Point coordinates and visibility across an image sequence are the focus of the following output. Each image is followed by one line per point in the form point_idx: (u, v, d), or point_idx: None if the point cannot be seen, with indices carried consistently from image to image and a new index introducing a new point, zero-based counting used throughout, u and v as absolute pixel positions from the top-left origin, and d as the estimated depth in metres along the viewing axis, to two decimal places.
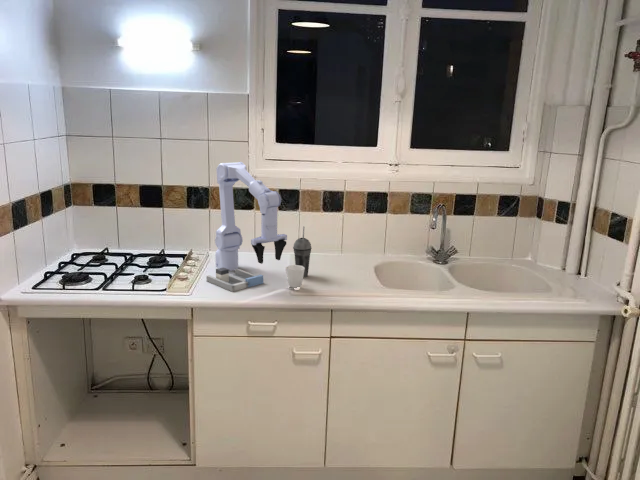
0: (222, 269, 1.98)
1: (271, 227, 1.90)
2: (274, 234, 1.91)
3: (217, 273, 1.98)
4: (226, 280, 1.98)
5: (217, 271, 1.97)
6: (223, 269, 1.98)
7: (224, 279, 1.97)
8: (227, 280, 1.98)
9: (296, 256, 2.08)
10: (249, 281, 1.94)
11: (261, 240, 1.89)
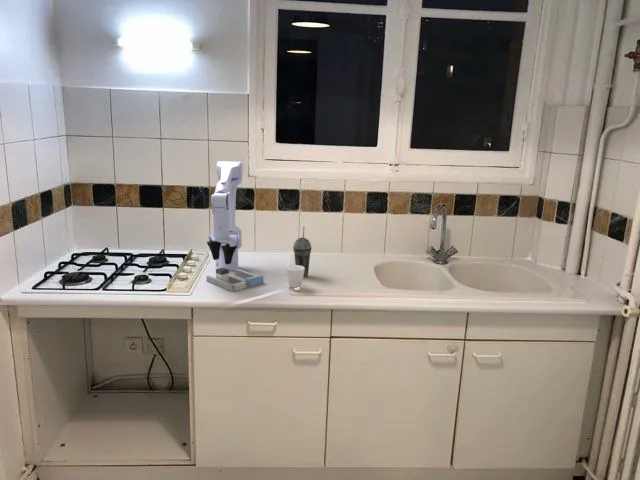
0: (222, 269, 1.98)
1: (213, 227, 1.93)
2: (215, 235, 1.92)
3: (217, 273, 1.98)
4: (226, 280, 1.98)
5: (217, 271, 1.97)
6: (223, 269, 1.98)
7: (224, 279, 1.97)
8: (227, 280, 1.98)
9: (296, 256, 2.08)
10: (249, 281, 1.94)
11: (211, 236, 1.97)
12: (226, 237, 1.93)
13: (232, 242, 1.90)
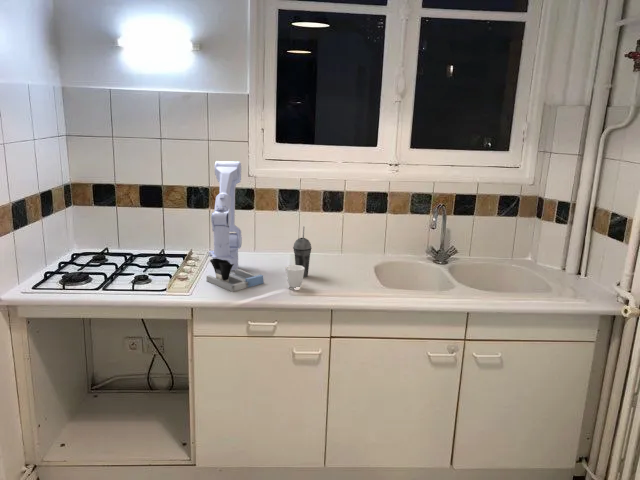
0: None
1: (214, 244, 1.94)
2: (216, 252, 1.94)
3: (217, 273, 1.98)
4: (226, 280, 1.98)
5: (217, 271, 1.97)
6: None
7: None
8: (227, 280, 1.98)
9: (296, 256, 2.08)
10: (249, 281, 1.94)
11: (211, 253, 1.99)
12: (226, 254, 1.95)
13: (232, 260, 1.91)
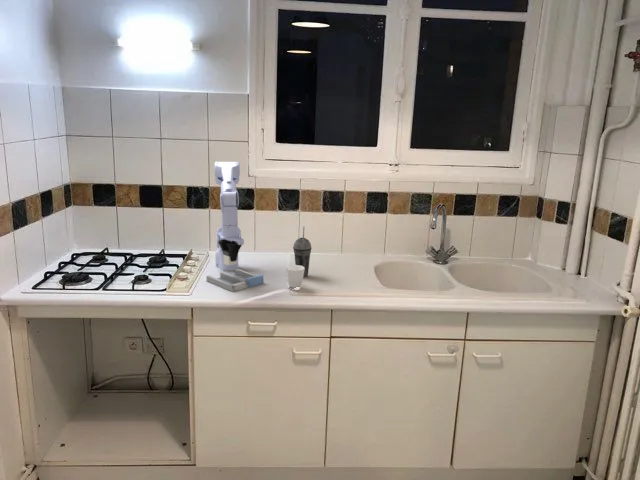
0: None
1: (222, 225, 1.94)
2: (224, 233, 1.93)
3: (225, 255, 1.97)
4: (234, 262, 1.98)
5: (225, 253, 1.97)
6: None
7: None
8: (235, 262, 1.98)
9: (296, 256, 2.08)
10: (249, 281, 1.94)
11: (219, 235, 1.98)
12: (234, 235, 1.94)
13: (240, 240, 1.91)
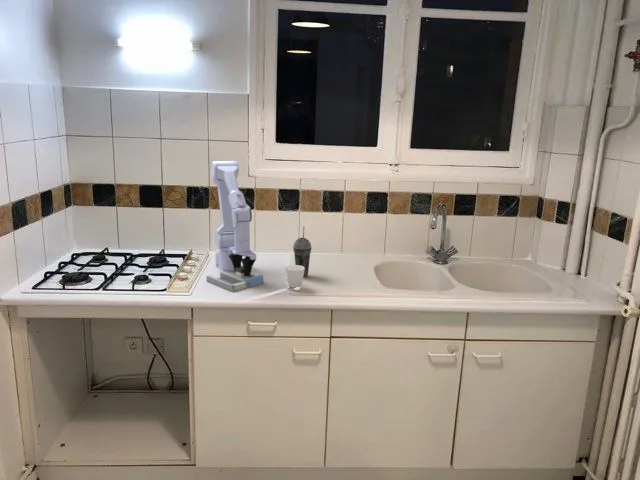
0: (241, 267, 2.00)
1: (234, 240, 1.97)
2: (236, 248, 1.97)
3: (237, 271, 2.00)
4: None
5: (237, 269, 2.00)
6: None
7: (244, 277, 2.00)
8: None
9: (296, 256, 2.08)
10: (249, 281, 1.94)
11: (231, 249, 2.01)
12: (247, 250, 1.97)
13: (253, 255, 1.94)
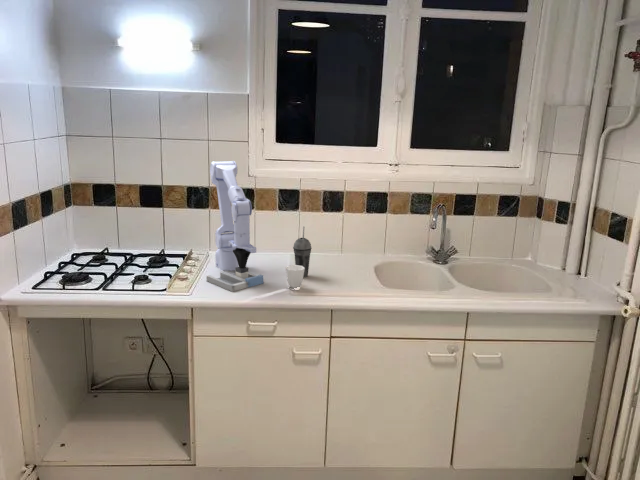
0: None
1: (234, 233, 1.96)
2: (236, 241, 1.96)
3: (237, 271, 2.00)
4: None
5: (237, 269, 2.00)
6: None
7: (244, 277, 2.00)
8: None
9: (296, 256, 2.08)
10: (249, 281, 1.94)
11: (231, 243, 2.00)
12: (247, 244, 1.97)
13: (253, 249, 1.93)
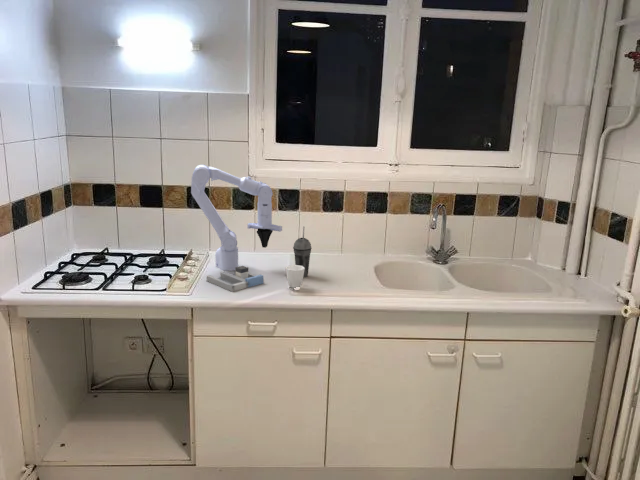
0: (241, 267, 2.00)
1: (259, 215, 2.12)
2: (262, 222, 2.12)
3: (237, 271, 2.00)
4: None
5: (237, 269, 2.00)
6: (243, 267, 2.00)
7: (244, 277, 2.00)
8: None
9: (296, 256, 2.08)
10: (249, 281, 1.94)
11: (253, 225, 2.15)
12: (271, 224, 2.14)
13: (280, 227, 2.13)
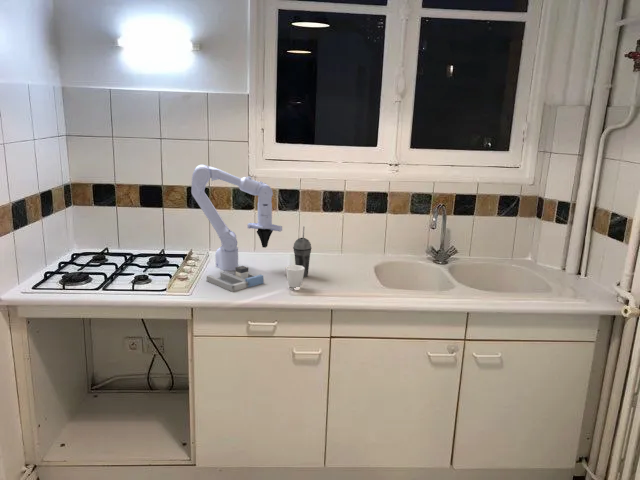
0: (241, 267, 2.00)
1: (259, 215, 2.12)
2: (262, 222, 2.12)
3: (237, 271, 2.00)
4: None
5: (237, 269, 2.00)
6: (243, 267, 2.00)
7: (244, 277, 2.00)
8: None
9: (296, 256, 2.08)
10: (249, 281, 1.94)
11: (253, 225, 2.15)
12: (271, 224, 2.14)
13: (280, 227, 2.13)
